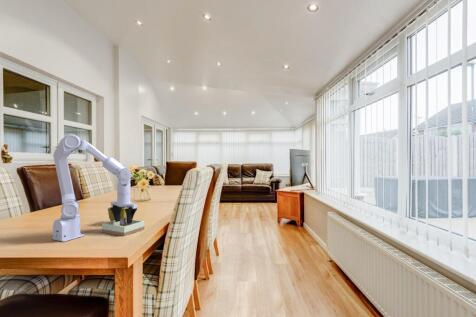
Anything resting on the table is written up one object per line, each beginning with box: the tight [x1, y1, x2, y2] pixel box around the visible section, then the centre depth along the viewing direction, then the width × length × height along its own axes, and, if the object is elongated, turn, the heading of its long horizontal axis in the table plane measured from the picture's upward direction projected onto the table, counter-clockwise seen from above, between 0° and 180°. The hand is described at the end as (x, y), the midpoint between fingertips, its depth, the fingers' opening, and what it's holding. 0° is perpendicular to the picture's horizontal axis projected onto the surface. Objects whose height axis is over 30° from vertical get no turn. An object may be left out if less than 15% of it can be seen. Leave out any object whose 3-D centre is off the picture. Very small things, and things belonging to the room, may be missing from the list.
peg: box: [120, 217, 127, 226], centre depth 123 cm, size 3×3×6 cm
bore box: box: [101, 219, 145, 237], centre depth 123 cm, size 12×14×4 cm
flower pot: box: [107, 206, 128, 222], centre depth 136 cm, size 9×9×9 cm
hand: (123, 222), depth 123 cm, fingers open, 7 cm apart
